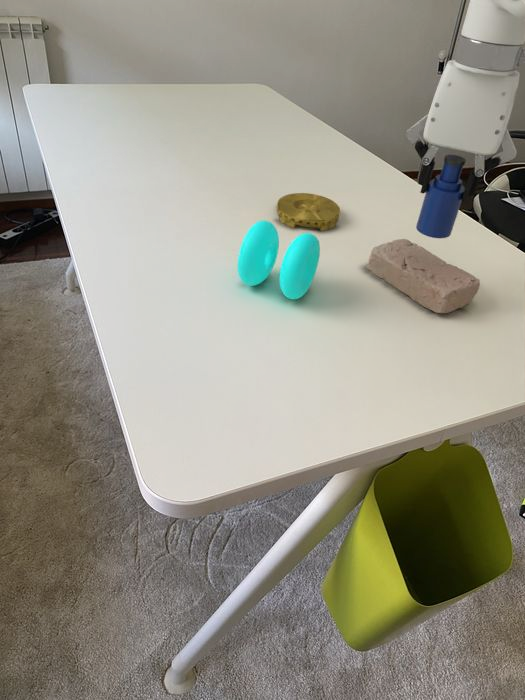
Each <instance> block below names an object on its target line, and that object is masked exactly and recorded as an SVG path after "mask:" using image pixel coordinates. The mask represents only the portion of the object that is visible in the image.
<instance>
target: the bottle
mask: <svg viewBox="0 0 525 700" xmlns="http://www.w3.org/2000/svg"><path fill="white" fill-rule="evenodd" d="M466 162H467V159H466V157H465V158H464V157H463V156H462V155H458V154H457V155H456V154H446V155H444V159H443V166H442V167H441V168H442V169H441V172H440V174H437V175H436V176H435V177H434V178H433V179H430V181H429V184H428V187H427V191H426V193H424V198H423V202H422V204H421V208H420V212H419V216H418V219H417V223H416V226H415V228H416V230H417V232H419V233H420V234H422V235H424V236H426V237H428V238H433V239H446V238H449V237H450V236H451V235H452V232H453V229H454V226H455V223H456V219H457V217H458V214H459V210H460V207H461V205H462V198H463V194H464V191H465V188H466V187H465V186H464V185H463V180H462V179H461V178H460V177H461V174H462V171H463V169H464V168H463V167H464V166H465V165H466Z"/></svg>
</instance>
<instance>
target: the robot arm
mask: <svg viewBox="0 0 525 700" xmlns="http://www.w3.org/2000/svg"><path fill="white" fill-rule="evenodd" d="M524 44H525V0H469V3H468V7H467V11H466V15H465V17H464V22H463V25H462V28H461V33H460V36H459V39H458V43H457V47H456V50H455V55H454V58H453V60H452V59H450V60H448V61H447V63H446V65H445V67H444V69H443V71H442V74H441V76H440V79H439V80H438V84H437V87H436V90H435V93H434V95H433V99H432V101H431V104H430V105H431V106H430V108H429V111H428V113H427V114H425V115H424V116H423V117H421V118H420V119H419V120H418V121H416V122H415V123H414V124H413V125H412V126H410V127H409V128H408V129H407V130H406V131H405V136H406V139H408V141H409V142H410V143H411V145H413V147H414V149H415V151H416V153H417V155H418V156H419V158H420V159H421V163H422V167H421V172H420V176H419V179H418V182H417V184H418V185H420V186H421V189H420V191H419V193H420V194H424V195H425V194H426V191H427V187H428V184H429V181H431V180H432V175H433V172H434V169H435V165H436V161H435V159H436V158H435V156H436V154H437V153H438V151H439V150H440V148H441V147H442V148H446V149H451V150H456V151H460V152H465V153H469V154H474V166H473V169H471V170H470V173H469V176H468V179H467V182H466V185H465V187H464V188H465V191H464V194H463V198H462V202H461V204H462V203H463V204H467V202H468V199H469V197H475V194H476V191H477V189H478V185H479V182H480V179H481V177H483V176H484V175H485V174H487V173H489V172H490V171H492V170H494V169H495V168H497V167H498V166H500V165H502V164H505V163H507V162H509V161H512V160H513V159H515V158H516V156H517V149H516V147H515V146H516V145H515V144H514V141H513V139H512V137H511V134H510V132H509V130H508V124H509V121H510V118H511V114H512V111H513V108H514V104H515V100H516V96H517V92H518V88H519V84H520V83H519V82H520V76H521V75H520V72H519V71H517V70H516V69H517V67H520V65H521V66H523V65H525V47H524ZM422 131H423V135H422V136H423V138H422V136H421V134H420V133H421V132H422ZM428 144H430V145H429V146H428ZM500 146H501V148H502V151H501V152H499V153H497V152H498V151H499V149H500ZM496 153H497V154H496ZM487 156H490V157H487Z"/></svg>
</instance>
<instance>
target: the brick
mask: <svg viewBox="0 0 525 700" xmlns="http://www.w3.org/2000/svg"><path fill="white" fill-rule="evenodd" d="M366 268H367V270H369V271H370V272H371V273H373V274H374V275H375V276H377V277H378V278H380V279H383V280H384V281H385V282H386V283H387V284H389V285H391V286H392V287H394V288H395V289H396V290H398V291H400V292H401V293H403V294H405V295H407V296H408V297H409V298H410V299H411V300H412V301H414V302H416V303H417V304H419V305H421V306H423V307H424V308H426V309H428V310H431V311H432V312H433V313H437V314H447V313H451V312H454V311H455V310H458V309H462V308H463V307H465V306H466V305H470V304H471V303H472V302H473V300H474V299H475V296H476V295H477V294H478V292H479V289H480V285H481V284H480V283H481V281H480V279H479V278H477V277H476V276H474V275H473V274H471V273H469V272H468V271H465V270H463V269H462V268H459V267H458V266H456V265H454V264H453V265H452V264H451V263H447V262H446V261H445V260H443V259H442V258H440V257H438V256H437V255H436V254H433V253H432V252H431V251H429V250H428V249H426V248H425V247H423V246H422V245H421V246H420V245H418V244H417V243H415V242H412V241H410V239H407V238H398V239H393V240H392V241H389V242H386V243H382V244H379V245H377V246H374V247H372V249H371V251H370V256H369V257H368V264H367V266H366Z"/></svg>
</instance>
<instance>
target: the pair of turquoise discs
mask: <svg viewBox="0 0 525 700" xmlns="http://www.w3.org/2000/svg"><path fill="white" fill-rule="evenodd" d="M279 248H280V237H279V232H278V230H277V228H276V226H275V224H273V223H272V222H271V221H269V220H259V221H256V222H255V223H254V224H252V225H251V226H250V228H248V230H247V231H246V233H245V236H244V237H243V240H242V243H241V245H240V248H239V252H238V257H237V272H238V276H239V278H240V281H241V282H242V283H244V285H246V286H251V287H254V286H257V285H260V284H262V283H263V282H264V281H266V279H268V277H269V276H270V274H271V272H273V271H272V270H273V269H274V266H275V264H276V262H277V258H278V254H279ZM320 254H321V245H320V241H319V239H318V237H317V236H316V235H315V234H313V233H311V232H304V233H301V234H299V235H297V236H296V237H295V238H294V239H293V240H292V241H291V242H290V244H289V245H288V247H287V249H286V251H285V253H284V256H283V258H282V262H281V265H280V270H279V286H280V287H279V288H280V290H281V292H282V294H283V295H284V296H285V297H286V298H287V299H290V300H298V299H300V298H302V297H303V296H304V295H305V294H306V293H307V292H308V291H309V288H310V286H311V285H312V283H313V281H314V278H315V276H316V273H317V269H318V266H319V261H320V256H321V255H320Z"/></svg>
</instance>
